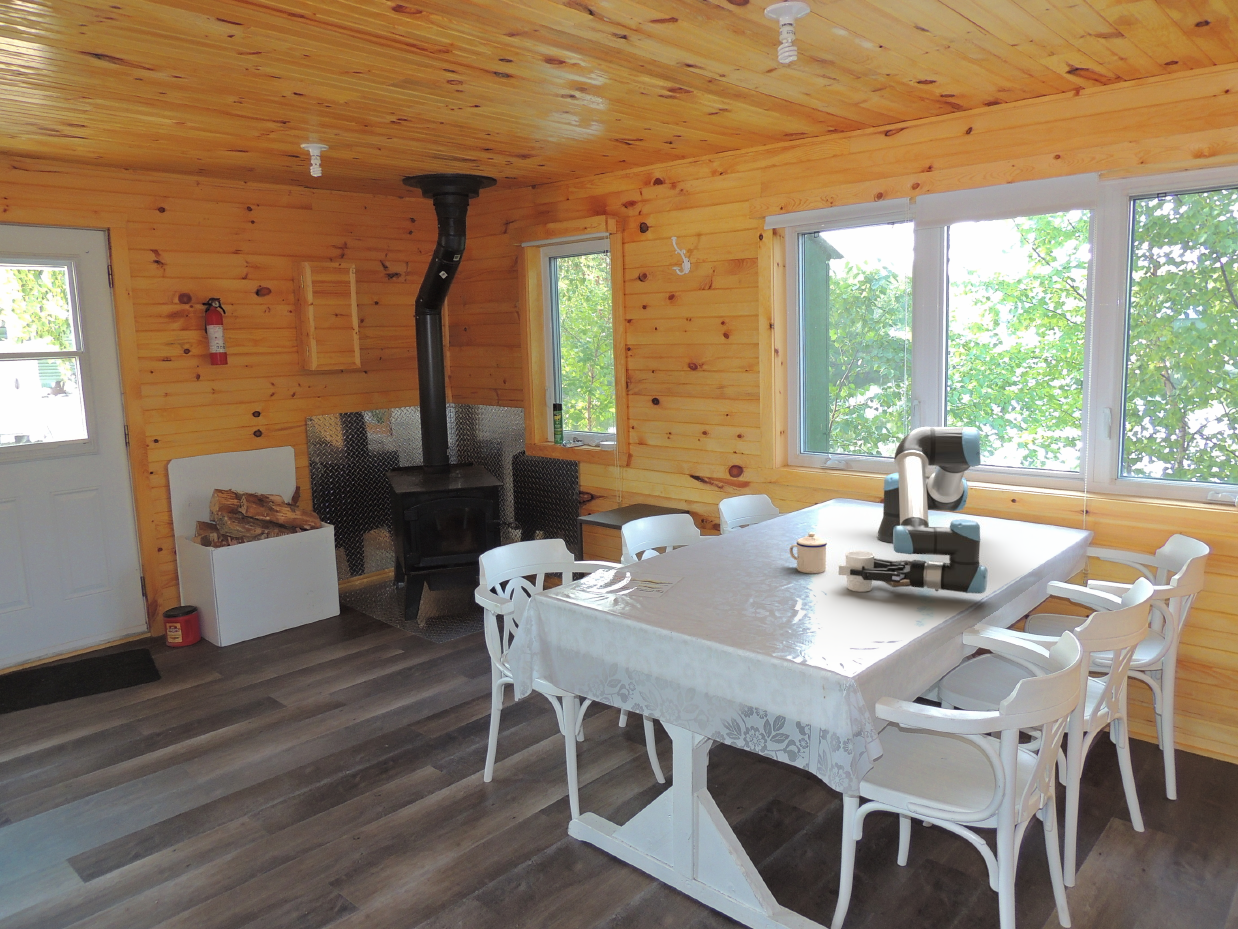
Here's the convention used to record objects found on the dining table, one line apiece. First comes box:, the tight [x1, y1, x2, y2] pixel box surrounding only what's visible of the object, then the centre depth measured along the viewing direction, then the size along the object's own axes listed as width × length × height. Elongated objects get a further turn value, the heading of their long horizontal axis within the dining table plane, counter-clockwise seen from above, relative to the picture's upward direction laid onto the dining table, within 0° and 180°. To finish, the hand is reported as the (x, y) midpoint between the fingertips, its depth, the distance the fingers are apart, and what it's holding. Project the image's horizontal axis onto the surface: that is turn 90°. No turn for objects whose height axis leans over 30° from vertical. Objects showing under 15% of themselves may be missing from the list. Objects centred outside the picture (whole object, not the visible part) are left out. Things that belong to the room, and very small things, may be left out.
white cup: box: [845, 550, 875, 593], centre depth 252 cm, size 8×8×10 cm
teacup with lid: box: [789, 532, 828, 574], centre depth 274 cm, size 12×9×12 cm
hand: (842, 566), depth 255 cm, fingers closed on white cup, 8 cm apart
